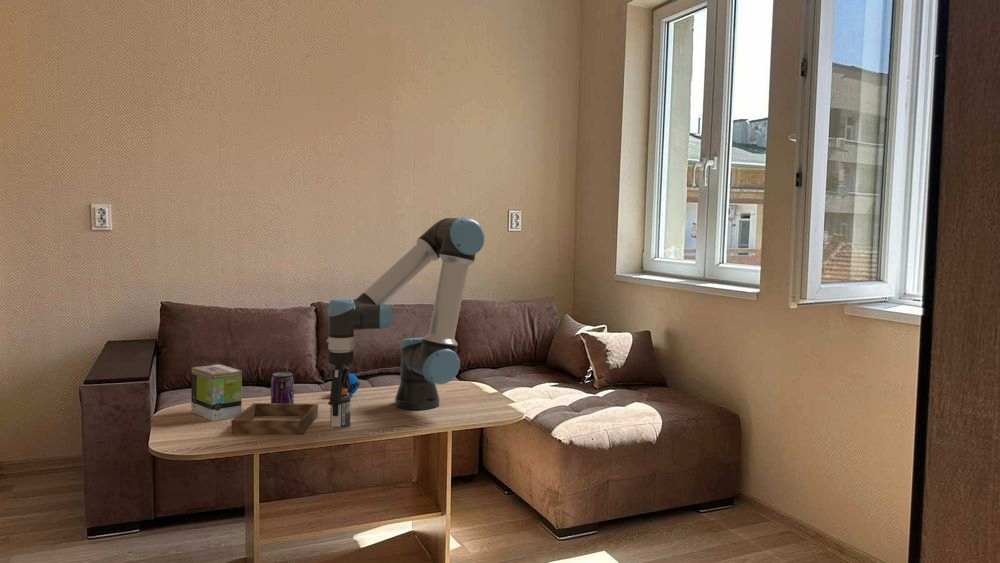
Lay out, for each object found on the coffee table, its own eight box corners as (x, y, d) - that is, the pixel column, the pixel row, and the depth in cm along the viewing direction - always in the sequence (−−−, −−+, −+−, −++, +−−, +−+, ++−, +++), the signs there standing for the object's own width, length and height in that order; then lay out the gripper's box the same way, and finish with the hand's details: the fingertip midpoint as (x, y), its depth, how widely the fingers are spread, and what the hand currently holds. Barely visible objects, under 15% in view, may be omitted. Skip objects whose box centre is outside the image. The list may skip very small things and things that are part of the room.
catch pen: (317, 416, 220) (317, 404, 220) (302, 434, 200) (302, 421, 200) (253, 415, 219) (253, 403, 219) (231, 434, 200) (231, 420, 199)
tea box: (243, 416, 219) (242, 369, 217) (211, 422, 211) (211, 374, 210) (221, 407, 229) (220, 362, 228) (190, 412, 221) (189, 366, 220)
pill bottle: (326, 425, 210) (326, 388, 210) (342, 421, 215) (343, 385, 214) (337, 429, 206) (338, 392, 206) (354, 425, 211) (354, 389, 210)
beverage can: (286, 413, 223) (287, 376, 222) (266, 412, 224) (266, 375, 223) (297, 408, 229) (297, 372, 229) (278, 406, 231) (278, 371, 230)
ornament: (351, 391, 254) (351, 364, 254) (363, 396, 248) (363, 368, 247) (329, 395, 249) (330, 367, 248) (342, 399, 242) (342, 371, 241)
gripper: (336, 343, 221) (336, 409, 223) (319, 357, 196) (318, 431, 198) (360, 343, 222) (359, 409, 223) (345, 358, 197) (345, 431, 198)
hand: (340, 420), depth 210 cm, fingers open, 13 cm apart
